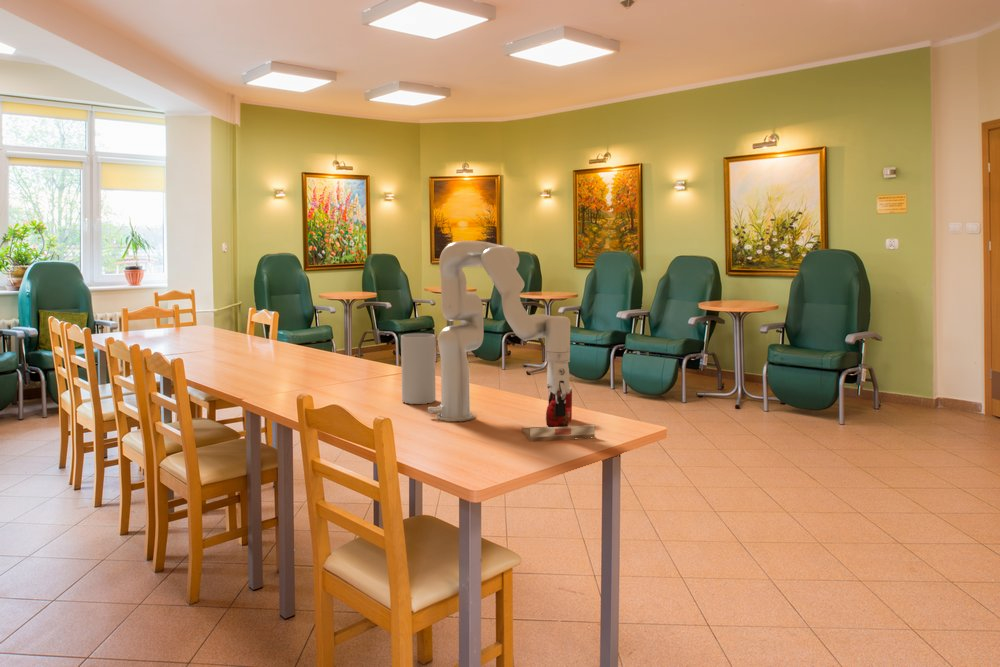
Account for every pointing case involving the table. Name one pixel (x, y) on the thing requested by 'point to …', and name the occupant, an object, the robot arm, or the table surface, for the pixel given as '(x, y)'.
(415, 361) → the cylinder vase
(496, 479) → the table surface
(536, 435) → the shelf board
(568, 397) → the canned food
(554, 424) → the red clay folk toy
